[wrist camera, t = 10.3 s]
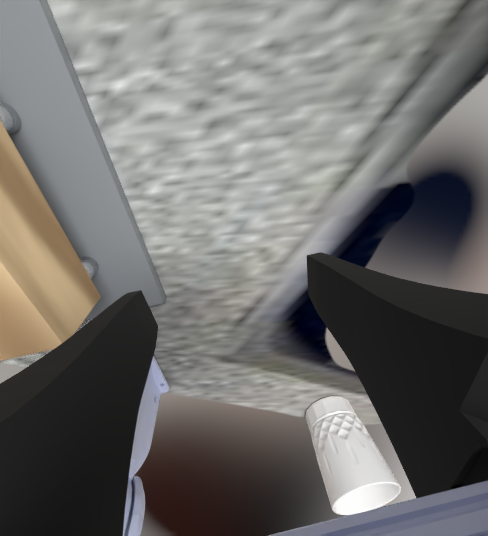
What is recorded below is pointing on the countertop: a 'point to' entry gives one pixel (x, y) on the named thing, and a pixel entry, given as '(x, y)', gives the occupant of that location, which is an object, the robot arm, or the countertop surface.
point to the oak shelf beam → (35, 266)
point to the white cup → (349, 458)
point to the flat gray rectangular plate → (69, 154)
